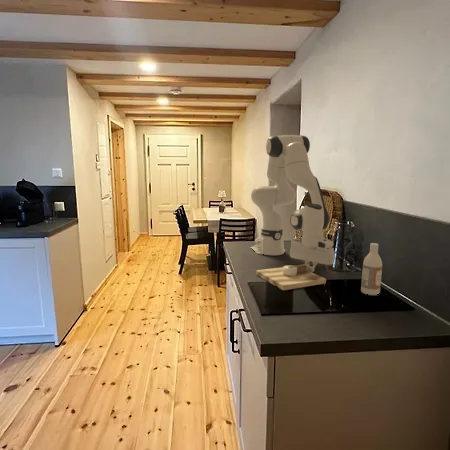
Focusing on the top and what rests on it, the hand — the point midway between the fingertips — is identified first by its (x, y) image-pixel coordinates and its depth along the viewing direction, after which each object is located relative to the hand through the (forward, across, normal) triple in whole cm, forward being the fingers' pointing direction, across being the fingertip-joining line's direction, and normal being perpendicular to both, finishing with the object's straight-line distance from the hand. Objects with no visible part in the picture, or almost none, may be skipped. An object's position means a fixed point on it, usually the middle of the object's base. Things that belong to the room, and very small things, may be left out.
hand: (310, 270), depth 148 cm
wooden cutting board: (+4, -6, -7) cm, 10 cm away
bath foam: (+4, +26, 0) cm, 26 cm away
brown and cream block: (+1, -5, -4) cm, 7 cm away
